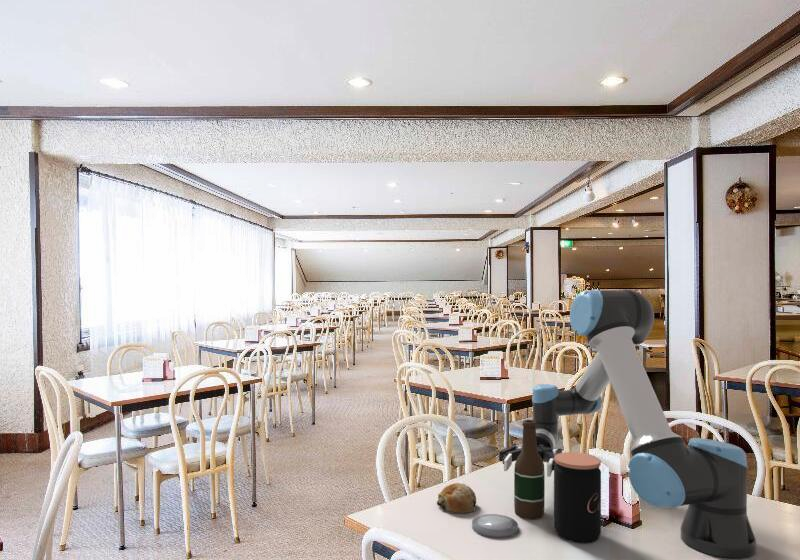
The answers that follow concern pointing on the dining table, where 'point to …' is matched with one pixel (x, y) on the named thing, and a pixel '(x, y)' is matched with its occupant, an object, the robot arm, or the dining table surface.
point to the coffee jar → (577, 497)
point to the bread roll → (457, 498)
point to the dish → (495, 526)
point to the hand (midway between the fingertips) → (526, 468)
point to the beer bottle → (529, 476)
